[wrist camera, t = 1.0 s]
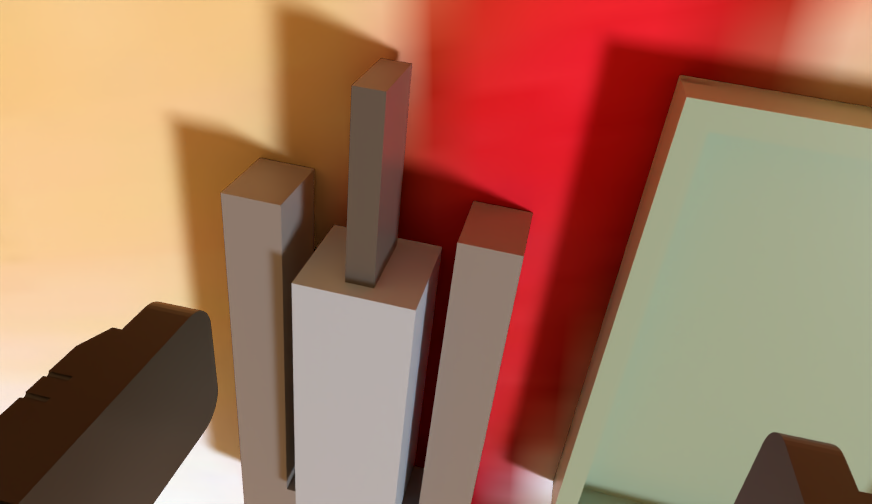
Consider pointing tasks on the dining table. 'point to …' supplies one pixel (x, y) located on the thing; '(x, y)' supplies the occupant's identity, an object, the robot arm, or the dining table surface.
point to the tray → (733, 303)
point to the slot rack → (273, 337)
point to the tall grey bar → (364, 319)
